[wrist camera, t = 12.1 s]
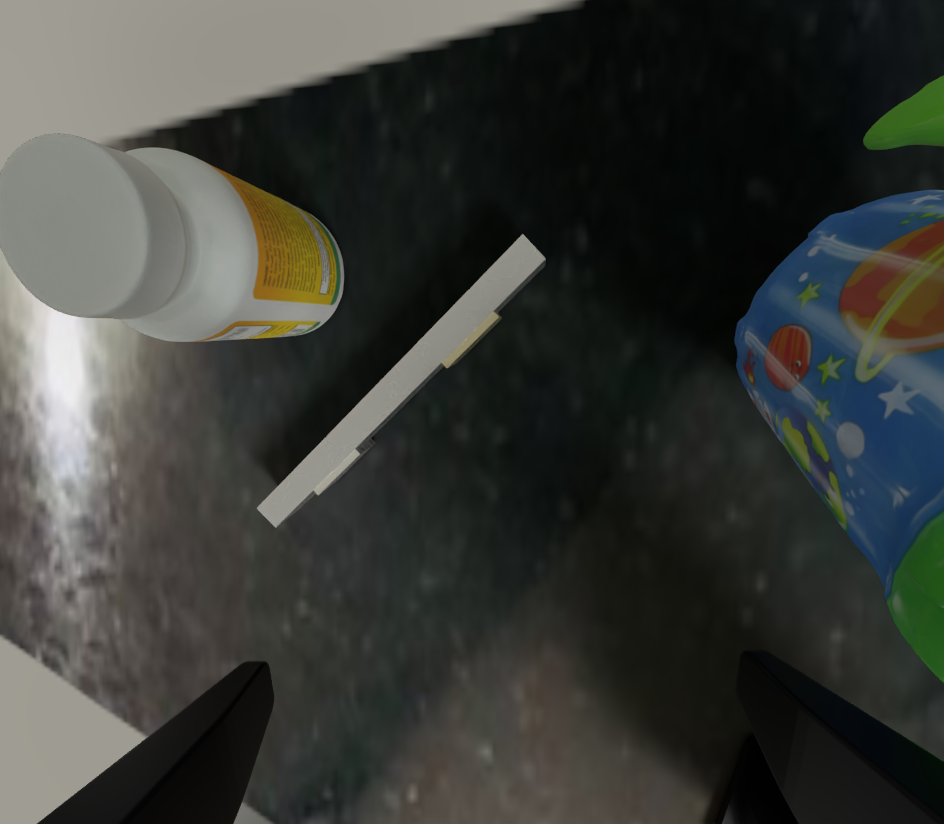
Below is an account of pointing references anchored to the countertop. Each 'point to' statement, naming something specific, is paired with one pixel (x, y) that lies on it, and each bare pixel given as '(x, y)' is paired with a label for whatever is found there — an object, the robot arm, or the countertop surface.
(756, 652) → the robot arm
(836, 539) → the countertop surface
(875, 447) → the snack cup
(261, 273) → the supplement bottle
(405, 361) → the price rail
